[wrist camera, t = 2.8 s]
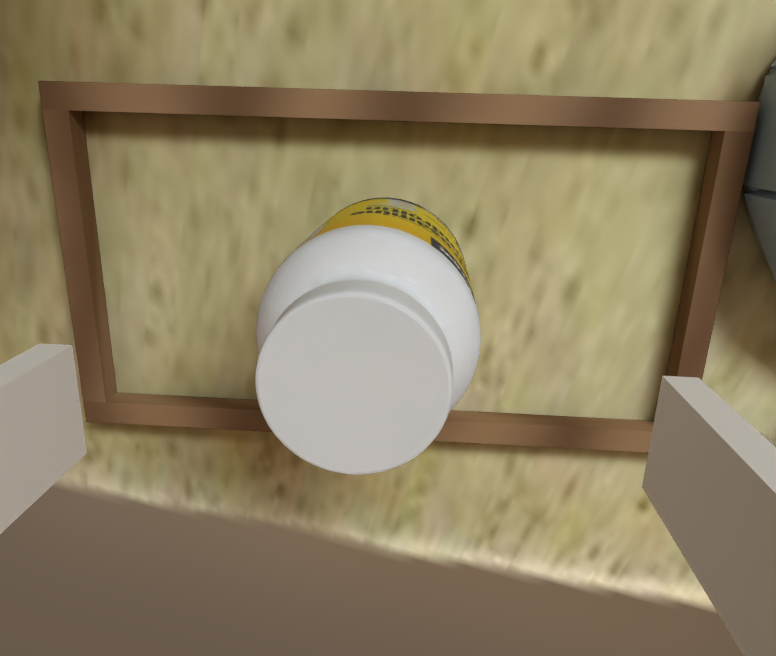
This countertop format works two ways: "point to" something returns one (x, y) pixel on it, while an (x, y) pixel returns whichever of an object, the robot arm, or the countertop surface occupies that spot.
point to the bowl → (763, 173)
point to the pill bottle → (367, 338)
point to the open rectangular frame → (72, 98)
